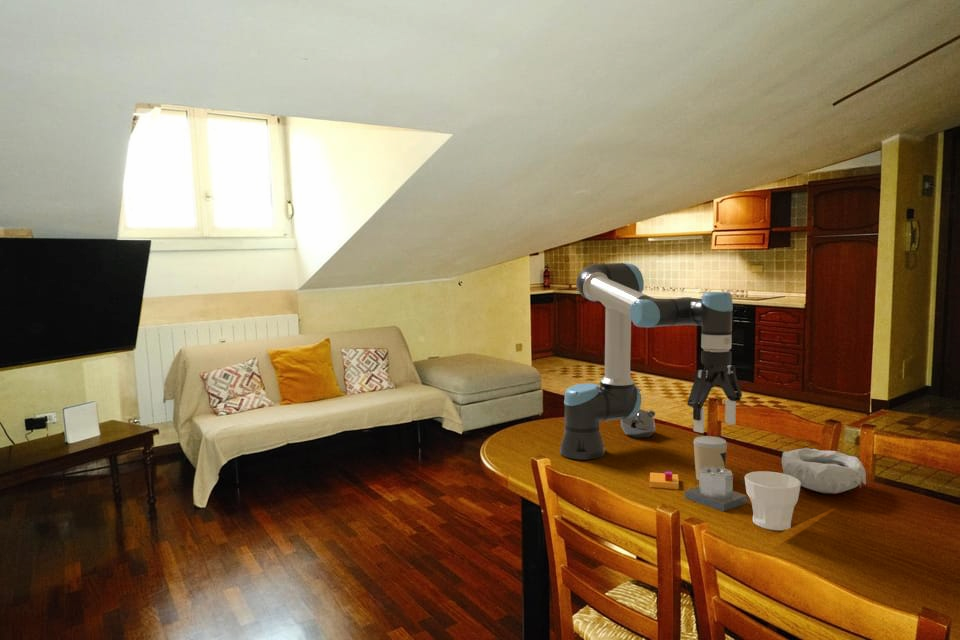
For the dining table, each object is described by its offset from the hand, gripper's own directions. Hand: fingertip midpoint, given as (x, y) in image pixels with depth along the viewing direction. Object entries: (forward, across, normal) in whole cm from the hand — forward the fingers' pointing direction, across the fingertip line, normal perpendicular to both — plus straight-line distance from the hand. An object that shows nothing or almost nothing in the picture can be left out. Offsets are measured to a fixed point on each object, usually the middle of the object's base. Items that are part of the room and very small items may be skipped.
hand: (714, 427), depth 162 cm
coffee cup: (+20, +12, +10) cm, 25 cm away
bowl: (+20, +29, -14) cm, 38 cm away
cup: (+20, -3, -18) cm, 27 cm away
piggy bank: (+21, +28, +52) cm, 62 cm away
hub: (+18, -1, -1) cm, 18 cm away
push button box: (+21, -1, +16) cm, 26 cm away
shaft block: (+20, -1, -1) cm, 20 cm away
